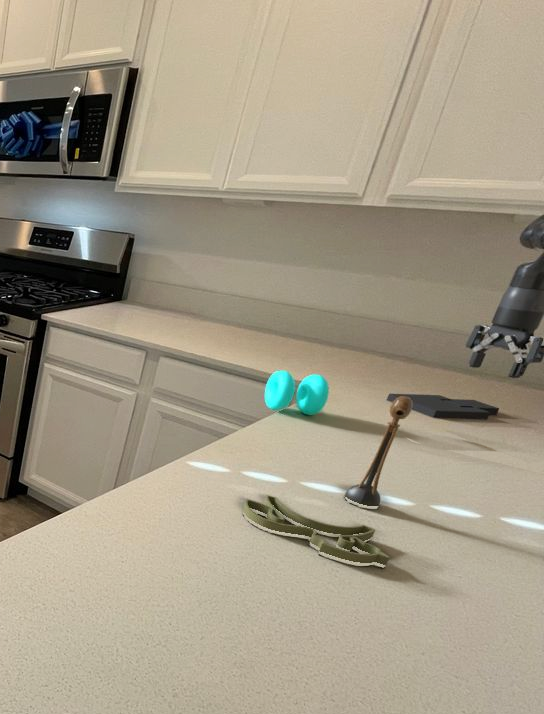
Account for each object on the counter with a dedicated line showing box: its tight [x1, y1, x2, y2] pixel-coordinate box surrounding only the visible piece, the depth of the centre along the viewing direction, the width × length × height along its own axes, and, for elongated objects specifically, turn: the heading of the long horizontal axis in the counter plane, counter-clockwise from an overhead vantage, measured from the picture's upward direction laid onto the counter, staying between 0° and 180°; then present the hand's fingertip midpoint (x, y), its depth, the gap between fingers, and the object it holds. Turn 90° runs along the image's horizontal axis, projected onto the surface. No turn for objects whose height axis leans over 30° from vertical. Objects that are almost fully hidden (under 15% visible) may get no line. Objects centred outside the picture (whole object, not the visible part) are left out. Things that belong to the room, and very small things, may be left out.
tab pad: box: [444, 398, 500, 416], centre depth 147 cm, size 9×6×4 cm, turn 92°
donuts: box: [264, 369, 330, 416], centre depth 144 cm, size 10×10×10 cm
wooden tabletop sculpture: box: [344, 396, 413, 507], centre depth 98 cm, size 6×5×20 cm
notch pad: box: [386, 393, 490, 420], centre depth 147 cm, size 14×12×4 cm
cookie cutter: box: [243, 494, 390, 566], centre depth 91 cm, size 18×12×2 cm, turn 46°
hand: (493, 372), depth 143 cm, fingers open, 8 cm apart
